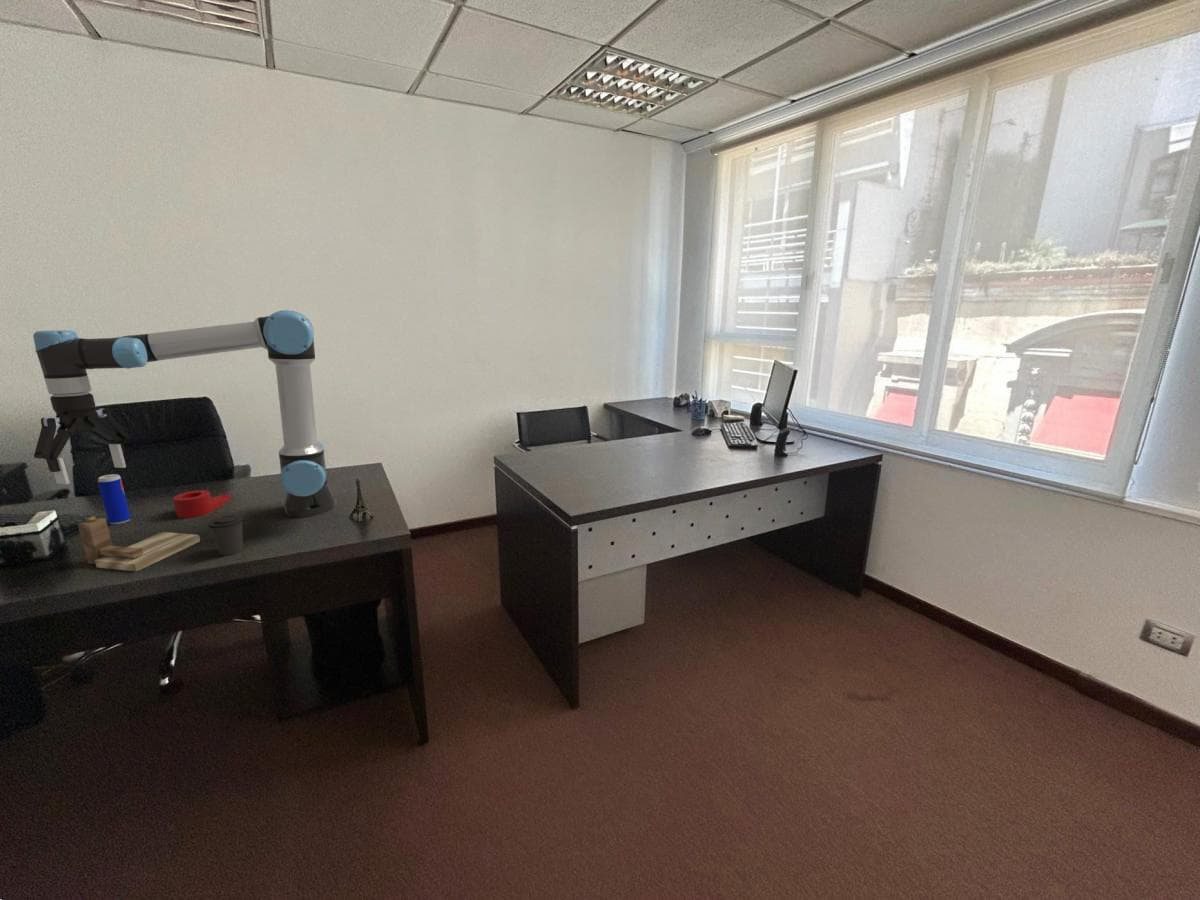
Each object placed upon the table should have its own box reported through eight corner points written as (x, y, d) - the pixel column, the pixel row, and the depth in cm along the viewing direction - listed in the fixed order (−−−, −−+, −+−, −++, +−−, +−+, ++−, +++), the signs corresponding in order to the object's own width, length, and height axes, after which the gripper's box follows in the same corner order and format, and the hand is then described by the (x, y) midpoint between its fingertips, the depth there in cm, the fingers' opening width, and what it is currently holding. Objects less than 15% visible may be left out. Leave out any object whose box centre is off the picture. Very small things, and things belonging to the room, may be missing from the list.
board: (200, 541, 145) (198, 534, 145) (136, 571, 128) (134, 564, 128) (164, 538, 147) (162, 531, 147) (96, 567, 130) (94, 560, 129)
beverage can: (134, 520, 159) (123, 475, 155) (113, 526, 155) (102, 480, 151) (126, 517, 161) (115, 473, 158) (105, 523, 157) (93, 477, 153)
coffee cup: (209, 560, 135) (202, 525, 132) (217, 547, 142) (211, 514, 139) (245, 555, 138) (239, 521, 135) (251, 543, 145) (246, 510, 142)
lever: (194, 520, 160) (190, 501, 158) (169, 518, 162) (165, 499, 160) (241, 501, 177) (238, 483, 176) (218, 499, 179) (214, 481, 177)
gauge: (148, 560, 133) (138, 517, 130) (132, 567, 129) (121, 523, 126) (104, 556, 135) (93, 514, 132) (88, 563, 131) (76, 520, 128)
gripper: (110, 386, 137) (129, 460, 143) (-6, 402, 113) (22, 490, 119) (134, 387, 136) (152, 461, 142) (22, 402, 112) (49, 491, 118)
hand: (93, 475), depth 130 cm, fingers open, 13 cm apart
